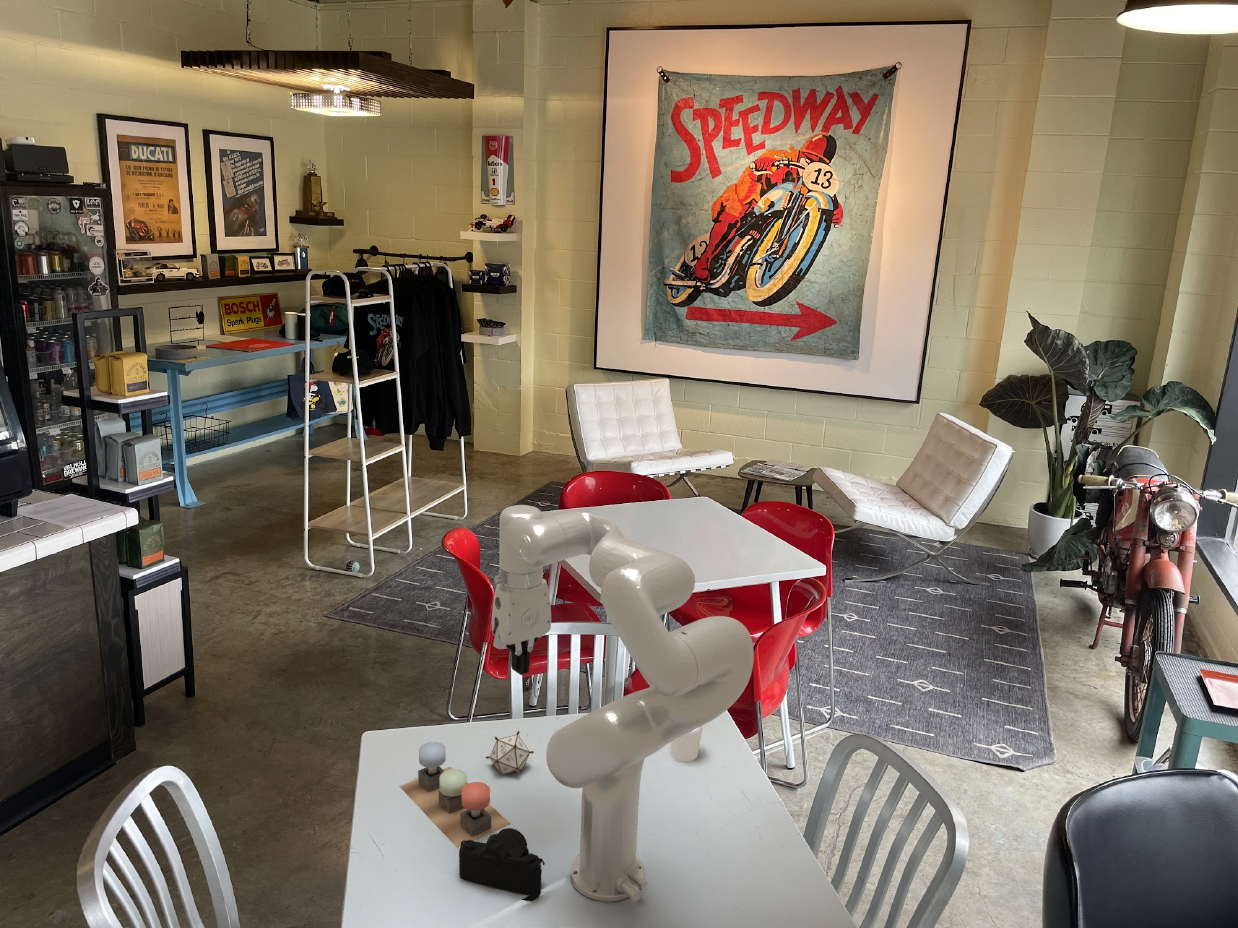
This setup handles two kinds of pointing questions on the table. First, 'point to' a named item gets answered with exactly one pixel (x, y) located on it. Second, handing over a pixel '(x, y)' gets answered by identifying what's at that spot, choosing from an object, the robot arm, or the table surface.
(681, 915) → the table surface
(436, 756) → the slate button
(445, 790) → the sage button
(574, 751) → the robot arm
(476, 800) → the brick button
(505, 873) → the film camera
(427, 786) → the wooden button base
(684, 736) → the white cylinder
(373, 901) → the table surface
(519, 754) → the game die
